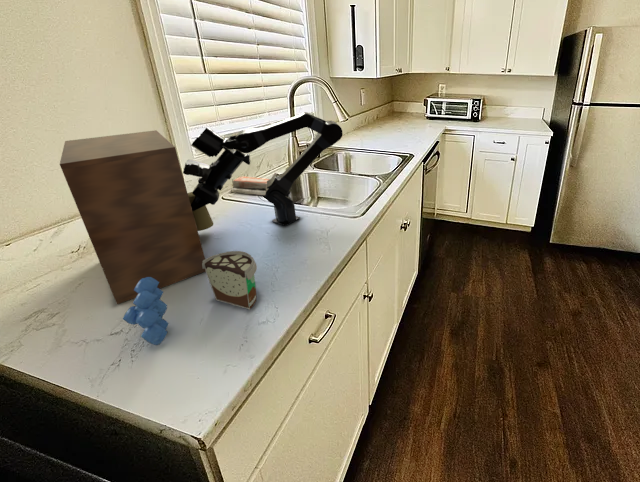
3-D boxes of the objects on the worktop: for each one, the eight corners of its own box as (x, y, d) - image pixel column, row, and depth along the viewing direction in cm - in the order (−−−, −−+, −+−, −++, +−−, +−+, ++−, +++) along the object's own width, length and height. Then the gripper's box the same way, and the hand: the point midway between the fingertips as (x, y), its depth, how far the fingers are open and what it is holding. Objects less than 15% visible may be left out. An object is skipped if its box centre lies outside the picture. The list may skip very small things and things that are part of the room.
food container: (275, 292, 74) (268, 255, 70) (255, 311, 68) (246, 271, 65) (232, 282, 78) (223, 245, 74) (210, 298, 72) (200, 260, 69)
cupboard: (185, 233, 100) (156, 130, 88) (208, 270, 82) (175, 146, 70) (110, 256, 89) (64, 141, 77) (117, 304, 71) (59, 164, 59)
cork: (197, 232, 95) (187, 198, 91) (186, 227, 98) (176, 194, 94) (217, 224, 99) (209, 191, 95) (207, 219, 102) (198, 187, 98)
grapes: (136, 323, 66) (117, 273, 61) (176, 310, 69) (160, 262, 64) (127, 366, 56) (104, 311, 52) (174, 349, 59) (155, 296, 55)
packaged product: (227, 181, 130) (244, 173, 139) (229, 192, 131) (246, 184, 140) (266, 184, 125) (281, 176, 134) (268, 196, 127) (283, 187, 136)
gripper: (202, 143, 99) (170, 182, 100) (192, 158, 83) (154, 205, 84) (236, 164, 105) (206, 201, 105) (232, 182, 89) (197, 226, 89)
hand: (191, 207), depth 96 cm, fingers closed on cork, 5 cm apart
